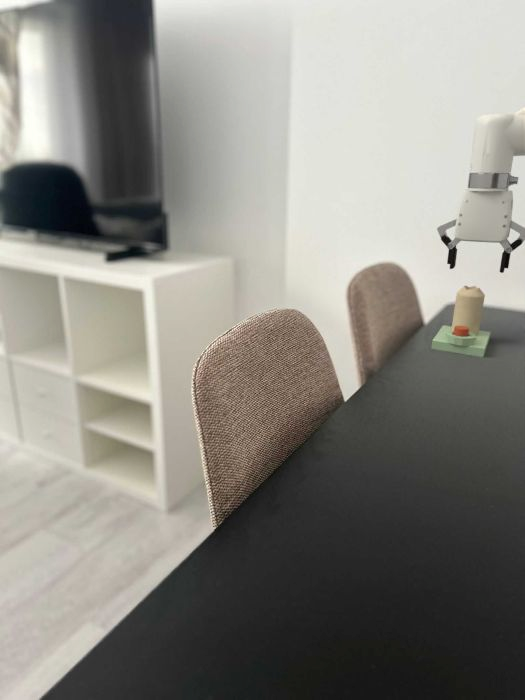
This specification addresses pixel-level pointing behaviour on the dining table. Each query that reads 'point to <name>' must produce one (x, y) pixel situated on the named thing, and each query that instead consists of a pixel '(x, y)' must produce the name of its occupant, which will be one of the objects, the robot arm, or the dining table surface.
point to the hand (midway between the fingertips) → (476, 269)
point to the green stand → (461, 342)
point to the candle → (468, 308)
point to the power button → (461, 331)
